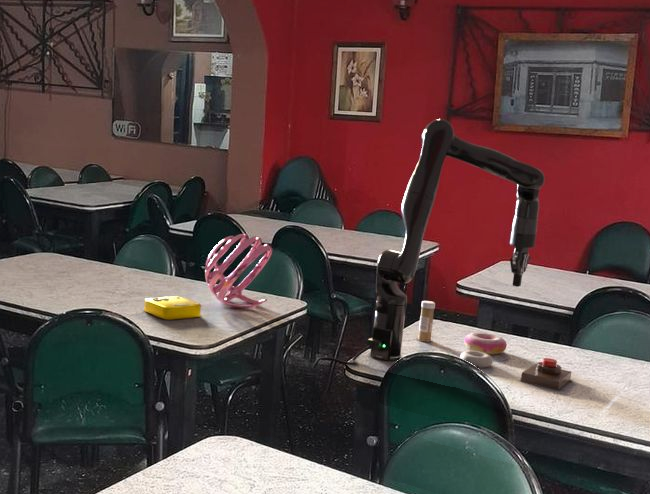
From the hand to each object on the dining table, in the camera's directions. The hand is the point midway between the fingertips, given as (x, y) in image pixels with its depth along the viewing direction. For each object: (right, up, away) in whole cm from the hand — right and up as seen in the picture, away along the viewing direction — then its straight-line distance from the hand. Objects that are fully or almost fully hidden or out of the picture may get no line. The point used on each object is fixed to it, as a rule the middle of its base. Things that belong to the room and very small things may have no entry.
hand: (516, 285), depth 268 cm
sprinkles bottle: (-25, -19, +23) cm, 39 cm away
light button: (+7, -24, -12) cm, 28 cm away
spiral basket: (-92, -8, +53) cm, 106 cm away
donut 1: (-6, -22, +16) cm, 28 cm away
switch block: (+5, -28, -13) cm, 31 cm away
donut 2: (-13, -25, -2) cm, 28 cm away
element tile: (-112, -10, +28) cm, 116 cm away
